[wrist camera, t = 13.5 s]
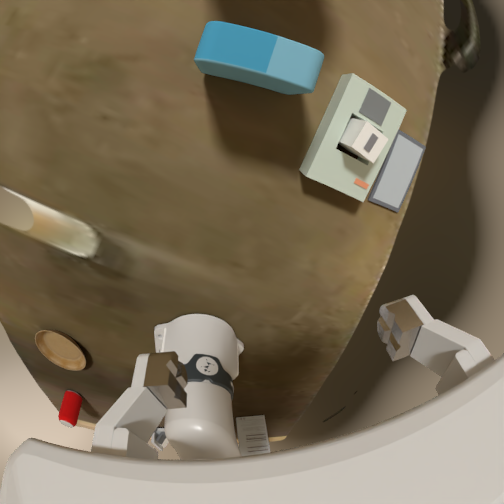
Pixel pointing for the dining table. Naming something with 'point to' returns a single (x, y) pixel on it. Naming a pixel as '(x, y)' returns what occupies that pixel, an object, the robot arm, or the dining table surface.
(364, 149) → the plug
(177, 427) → the robot arm
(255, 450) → the supplement box
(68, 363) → the plant saucer
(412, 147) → the phone
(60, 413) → the beverage can
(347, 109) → the socket strip
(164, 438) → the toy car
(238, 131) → the dining table surface
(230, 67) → the blue rounded block
